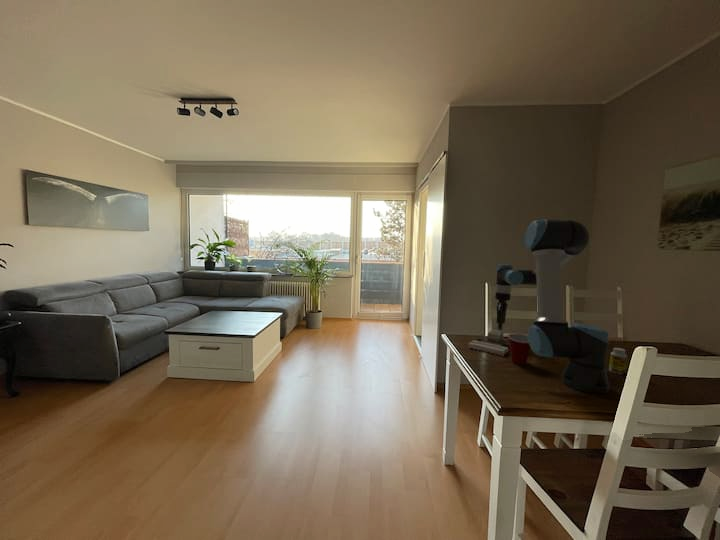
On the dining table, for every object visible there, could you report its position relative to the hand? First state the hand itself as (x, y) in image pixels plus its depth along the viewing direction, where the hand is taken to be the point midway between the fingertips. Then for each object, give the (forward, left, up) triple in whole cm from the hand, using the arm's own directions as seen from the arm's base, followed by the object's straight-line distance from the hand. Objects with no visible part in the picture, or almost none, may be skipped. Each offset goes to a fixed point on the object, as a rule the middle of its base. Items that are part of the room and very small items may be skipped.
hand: (499, 334), depth 178 cm
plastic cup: (-29, -16, -4) cm, 33 cm away
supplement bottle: (-11, -51, -4) cm, 52 cm away
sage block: (-9, 0, -1) cm, 9 cm away
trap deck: (-15, 0, -4) cm, 15 cm away
